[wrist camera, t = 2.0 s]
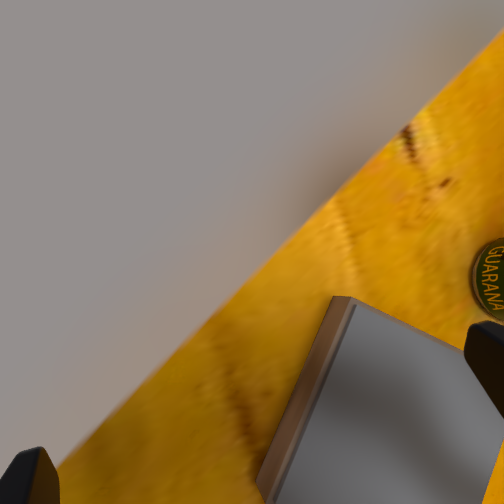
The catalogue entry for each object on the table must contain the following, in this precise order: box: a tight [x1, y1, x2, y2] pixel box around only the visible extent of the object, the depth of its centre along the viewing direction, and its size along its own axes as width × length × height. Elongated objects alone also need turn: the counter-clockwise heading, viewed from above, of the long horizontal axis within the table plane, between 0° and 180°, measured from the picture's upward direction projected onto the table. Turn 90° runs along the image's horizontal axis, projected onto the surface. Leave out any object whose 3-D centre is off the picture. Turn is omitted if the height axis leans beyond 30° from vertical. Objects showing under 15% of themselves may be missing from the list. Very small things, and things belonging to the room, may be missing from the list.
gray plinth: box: [255, 296, 504, 504], centre depth 24 cm, size 11×11×3 cm
